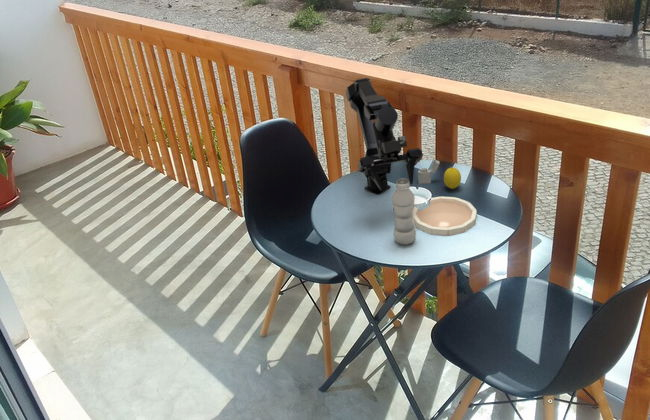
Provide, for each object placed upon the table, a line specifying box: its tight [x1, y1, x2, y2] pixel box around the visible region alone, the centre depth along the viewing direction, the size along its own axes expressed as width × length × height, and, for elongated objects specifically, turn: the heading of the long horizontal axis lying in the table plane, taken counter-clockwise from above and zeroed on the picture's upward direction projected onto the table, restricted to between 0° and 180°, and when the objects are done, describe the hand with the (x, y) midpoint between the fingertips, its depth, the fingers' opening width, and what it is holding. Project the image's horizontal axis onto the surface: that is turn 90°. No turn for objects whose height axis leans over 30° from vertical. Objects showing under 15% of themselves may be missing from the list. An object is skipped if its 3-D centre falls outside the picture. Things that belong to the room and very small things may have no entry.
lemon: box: [443, 166, 462, 190], centre depth 195 cm, size 6×6×8 cm
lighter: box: [417, 159, 441, 185], centre depth 201 cm, size 7×2×8 cm, turn 83°
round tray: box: [413, 195, 478, 237], centre depth 182 cm, size 19×19×2 cm
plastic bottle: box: [391, 178, 417, 246], centre depth 169 cm, size 6×7×20 cm
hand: (396, 187), depth 174 cm, fingers open, 9 cm apart
